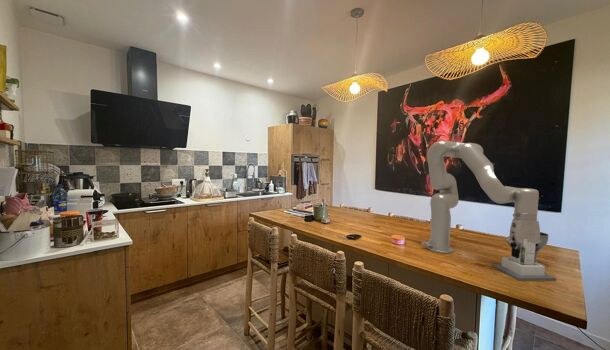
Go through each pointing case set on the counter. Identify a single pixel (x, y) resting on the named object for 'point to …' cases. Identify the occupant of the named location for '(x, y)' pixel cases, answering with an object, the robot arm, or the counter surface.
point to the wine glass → (541, 245)
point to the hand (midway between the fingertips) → (522, 256)
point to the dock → (523, 270)
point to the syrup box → (525, 253)
